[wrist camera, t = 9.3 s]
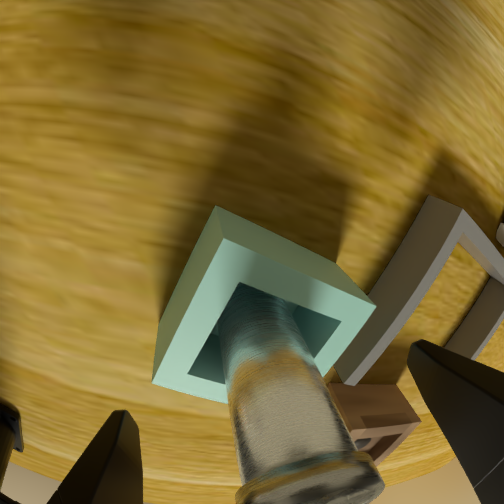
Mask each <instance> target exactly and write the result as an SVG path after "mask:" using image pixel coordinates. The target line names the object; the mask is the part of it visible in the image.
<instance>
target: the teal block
mask: <svg viewBox="0 0 504 504" xmlns="http://www.w3.org/2000/svg"><path fill="white" fill-rule="evenodd" d="M239 282H241V283H244V284H246V285H249V286H251V287H254V288H256V289H259V290H261V291H264V292H267V293H269V294H272V295H274V296H277V297H279V298H282V299H284V300H285V302H286V304H287V306H288V308H289V310H290V312H291V314H292V316H293V318H294V321H295V323H296V325H297V327H298V329H299V331H300V333H301V335H302V337H303V339H304V341H305V343H306V345H307V347H308V349H309V351H310V353H311V355H312V357H313V359H314V361H315V363H316V365H317V367H318V369H319V371H320V373H321V375H322V377H324V375H325V374H326V373H327V372H328V371H329V369H330V368H331V367H332V366H333V364H334V363H335V362H336V361H337V359H338V358H339V357H340V356H341V354H342V353H343V352H344V350H345V349H346V348H347V347H348V345H349V344H350V343H351V341H352V340H353V339H354V337H355V336H356V335H357V333H358V332H359V331H360V329H361V328H362V326H363V325H364V324H365V322H366V321H367V320H368V318H369V317H370V315H371V314H372V312H373V311H374V310H375V308H376V307H377V306H376V305H375V304H374V303H373V302H372V301H371V300H370V299H369V297H368V296H367V295H366V294H365V293H364V292H363V291H362V290H361V289H360V288H359V287H358V286H357V285H356V284H355V283H354V282H353V281H352V279H351V278H350V277H349V276H348V275H347V274H346V273H345V272H344V271H343V270H342V269H341V268H340V267H339V266H338V265H337V264H336V263H334V262H332V261H330V260H328V259H326V258H324V257H322V256H320V255H318V254H316V253H314V252H312V251H310V250H308V249H306V248H304V247H302V246H300V245H298V244H296V243H294V242H292V241H290V240H288V239H286V238H284V237H282V236H279V235H277V234H275V233H273V232H271V231H269V230H267V229H265V228H263V227H261V226H259V225H257V224H254V223H252V222H250V221H248V220H246V219H244V218H242V217H240V216H238V215H236V214H233V213H231V212H229V211H227V210H225V209H223V208H221V207H218V206H216V205H215V207H214V209H213V211H212V213H211V215H210V217H209V219H208V221H207V223H206V225H205V227H204V229H203V231H202V233H201V235H200V237H199V239H198V241H197V243H196V245H195V247H194V249H193V251H192V253H191V255H190V257H189V260H188V262H187V264H186V266H185V268H184V270H183V272H182V274H181V276H180V278H179V281H178V283H177V285H176V287H175V289H174V291H173V294H172V296H171V298H170V300H169V302H168V304H167V307H166V309H165V311H164V313H163V316H162V318H161V320H160V322H159V326H158V333H157V341H156V349H155V357H154V365H153V374H152V383H153V384H156V385H159V386H162V387H165V388H169V389H172V390H176V391H179V392H183V393H186V394H190V395H194V396H197V397H201V398H205V399H209V400H213V401H218V402H222V403H226V404H228V399H227V392H226V385H225V378H224V371H223V363H222V356H221V348H220V341H219V333H218V324H217V320H218V319H219V317H220V315H221V313H222V311H223V310H224V308H225V306H226V304H227V303H228V301H229V299H230V297H231V296H232V294H233V292H234V290H235V288H236V287H237V285H238V283H239Z"/></svg>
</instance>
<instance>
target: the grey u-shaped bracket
mask: <svg viewBox="0 0 504 504" xmlns="http://www.w3.org/2000/svg"><path fill="white" fill-rule="evenodd" d="M457 242H459V243H460V244H461V245H462V246H463V247H464V248H465V249H466V250H467V251H468V252H469V254H470V255H471V256H472V257H473V258H474V259H475V260H476V261H477V262H478V263H479V264H480V265H481V266H482V267H483V268H484V269H485V270H486V271H487V272H488V274H489V275H490V276H491V278H490V279H489V281H488V283H487V284H486V286H485V288H484V289H483V291H482V293H481V294H480V296H479V298H478V299H477V301H476V302H475V304H474V306H473V307H472V309H471V310H470V312H469V313H468V315H467V316H466V318H465V319H464V321H463V322H462V323H461V325H460V326H459V328H458V329H457V331H456V332H455V333H454V335H453V336H452V337H451V339H450V340H449V342H448V343H447V344H446V346H445V347H444V348H445V349H448V350H450V351H453V352H455V353H457V354H460V355H462V356H465V357H467V358H469V359H472V360H475V359H476V358H477V356H478V355H479V354H480V352H481V351H482V350H483V348H484V347H485V346H486V344H487V343H488V341H489V340H490V338H491V337H492V336H493V334H494V333H495V331H496V330H497V328H498V327H499V325H500V324H501V322H502V320H503V319H504V258H503V257H502V256H501V254H500V253H499V252H498V250H497V249H496V248H495V246H494V245H493V244H492V243H491V241H490V240H489V239H488V238H487V236H486V235H485V234H484V233H483V231H482V230H481V229H480V228H479V227H478V225H477V224H476V223H475V222H474V221H473V219H472V218H471V217H470V216H469V215H468V214H467V213H466V211H465V210H464V209H463V208H461V207H458V206H456V205H453V204H451V203H449V202H446V201H444V200H441V199H439V198H436V197H434V196H431V195H428V197H427V199H426V201H425V202H424V204H423V206H422V208H421V210H420V212H419V213H418V215H417V217H416V219H415V220H414V222H413V224H412V226H411V227H410V229H409V231H408V233H407V234H406V236H405V238H404V239H403V241H402V243H401V244H400V246H399V248H398V249H397V251H396V253H395V254H394V256H393V257H392V259H391V261H390V262H389V264H388V265H387V267H386V268H385V270H384V272H383V273H382V275H381V276H380V278H379V279H378V281H377V282H376V284H375V285H374V287H373V288H372V290H371V291H370V293H369V294H368V297H369V299H370V300H371V301H372V302H373V303H374V304H375V305H376V306H377V307H376V308H375V310H374V311H373V312H372V314H371V315H370V317H369V318H368V320H367V321H366V322H365V324H364V325H363V326H362V328H361V329H360V331H359V332H358V333H357V335H356V336H355V337H354V339H353V340H352V341H351V343H350V344H349V345H348V347H347V348H346V349H345V350H344V352H343V353H342V354H341V356H340V357H339V358H338V359H337V361H336V362H335V363H334V364H333V366H334V368H335V369H336V371H337V373H338V375H339V377H340V378H341V380H342V382H343V384H347V385H352V386H355V385H356V384H357V383H358V382H359V380H360V379H361V378H362V377H363V376H364V375H365V374H366V372H367V371H368V370H369V369H370V368H371V366H372V365H373V364H374V363H375V362H376V360H377V359H378V358H379V357H380V356H381V354H382V353H383V352H384V351H385V349H386V348H387V347H388V345H389V344H390V343H391V342H392V340H393V339H394V338H395V336H396V335H397V334H398V332H399V331H400V330H401V328H402V327H403V326H404V324H405V323H406V322H407V320H408V319H409V317H410V316H411V315H412V313H413V312H414V310H415V309H416V307H417V306H418V305H419V303H420V302H421V300H422V299H423V297H424V296H425V294H426V293H427V291H428V290H429V288H430V287H431V285H432V283H433V282H434V280H435V279H436V277H437V276H438V274H439V272H440V271H441V269H442V267H443V266H444V264H445V262H446V261H447V259H448V257H449V256H450V254H451V252H452V251H453V249H454V247H455V245H456V243H457Z"/></svg>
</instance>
